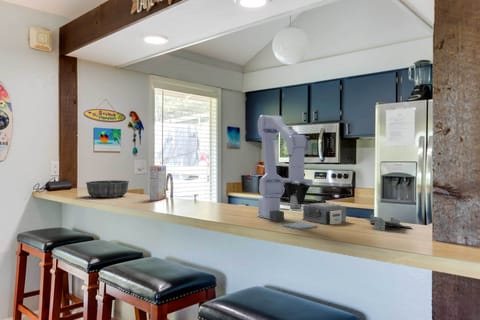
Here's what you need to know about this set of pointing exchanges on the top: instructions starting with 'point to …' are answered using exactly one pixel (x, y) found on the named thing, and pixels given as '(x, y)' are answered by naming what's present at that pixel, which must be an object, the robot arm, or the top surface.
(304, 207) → the box
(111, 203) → the top surface
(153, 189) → the cracker box
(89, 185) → the bundt pan
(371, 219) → the metal bracket
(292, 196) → the cylinder
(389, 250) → the top surface
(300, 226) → the pad
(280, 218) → the rubber block
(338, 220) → the label tile
